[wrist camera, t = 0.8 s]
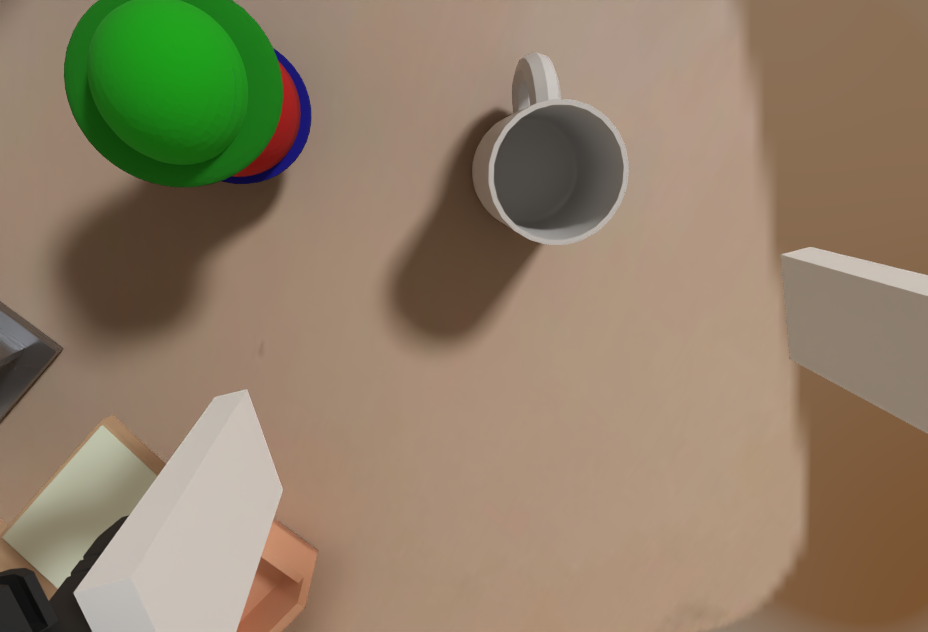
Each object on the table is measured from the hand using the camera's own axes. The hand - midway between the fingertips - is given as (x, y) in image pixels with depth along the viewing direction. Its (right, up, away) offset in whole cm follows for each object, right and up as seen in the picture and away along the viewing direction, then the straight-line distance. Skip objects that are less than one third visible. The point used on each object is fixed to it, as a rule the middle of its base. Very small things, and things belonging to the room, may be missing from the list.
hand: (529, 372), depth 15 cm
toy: (-15, +14, +23) cm, 31 cm away
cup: (+2, +12, +25) cm, 28 cm away
